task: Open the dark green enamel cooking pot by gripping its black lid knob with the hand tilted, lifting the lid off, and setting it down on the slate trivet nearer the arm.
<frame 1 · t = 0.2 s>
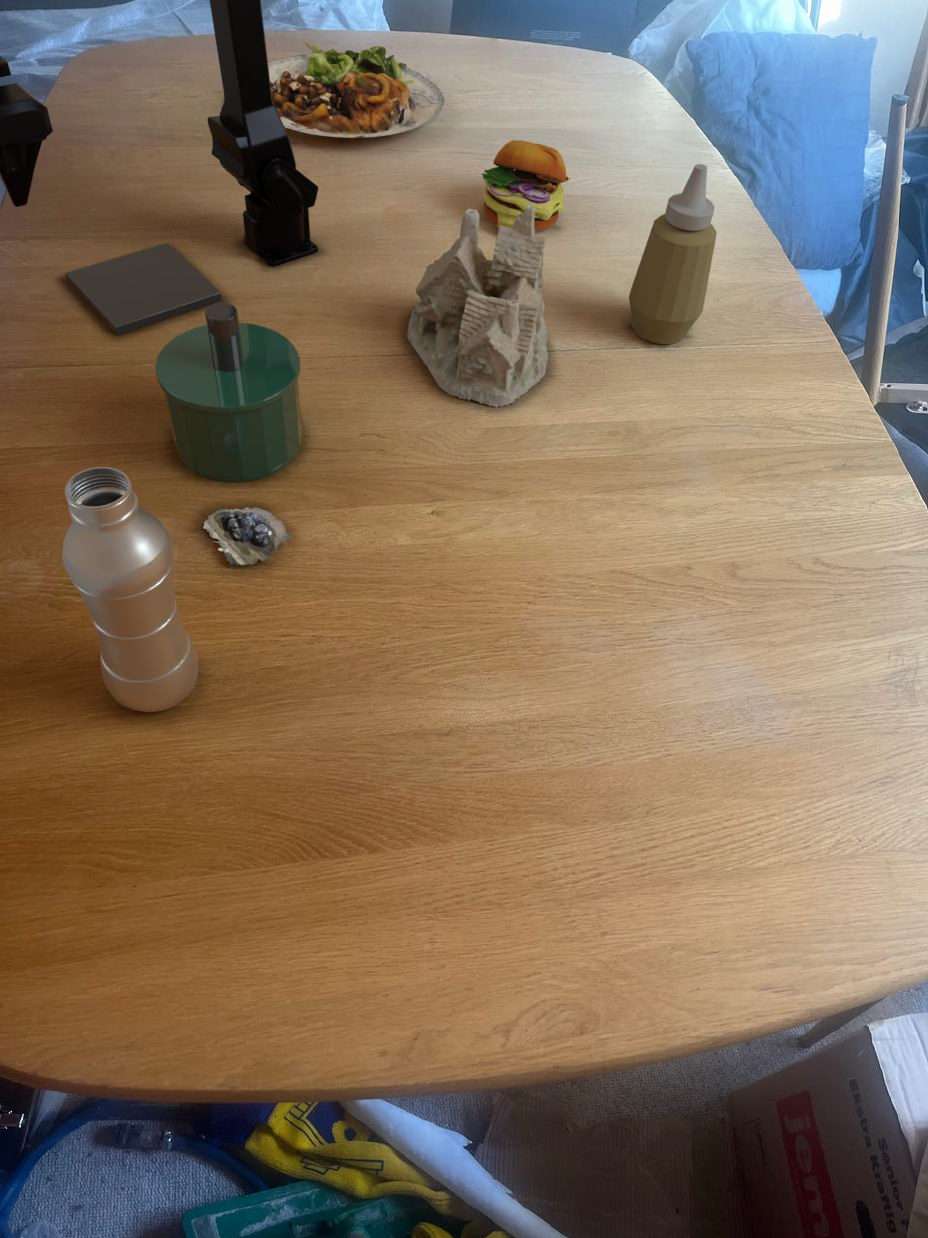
pot lid: (229, 368, 83), point 8 cm above the table, touching pot
plate of food: (344, 110, 136), on the table
ceramic cottage: (471, 353, 101), on the table
pot: (239, 440, 89), on the table
cheeseburger: (520, 217, 120), on the table
trivet: (144, 290, 104), on the table
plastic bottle: (157, 689, 71), on the table
squeeze bottle: (658, 331, 106), on the table
grey lumpy flat piece: (243, 538, 82), on the table
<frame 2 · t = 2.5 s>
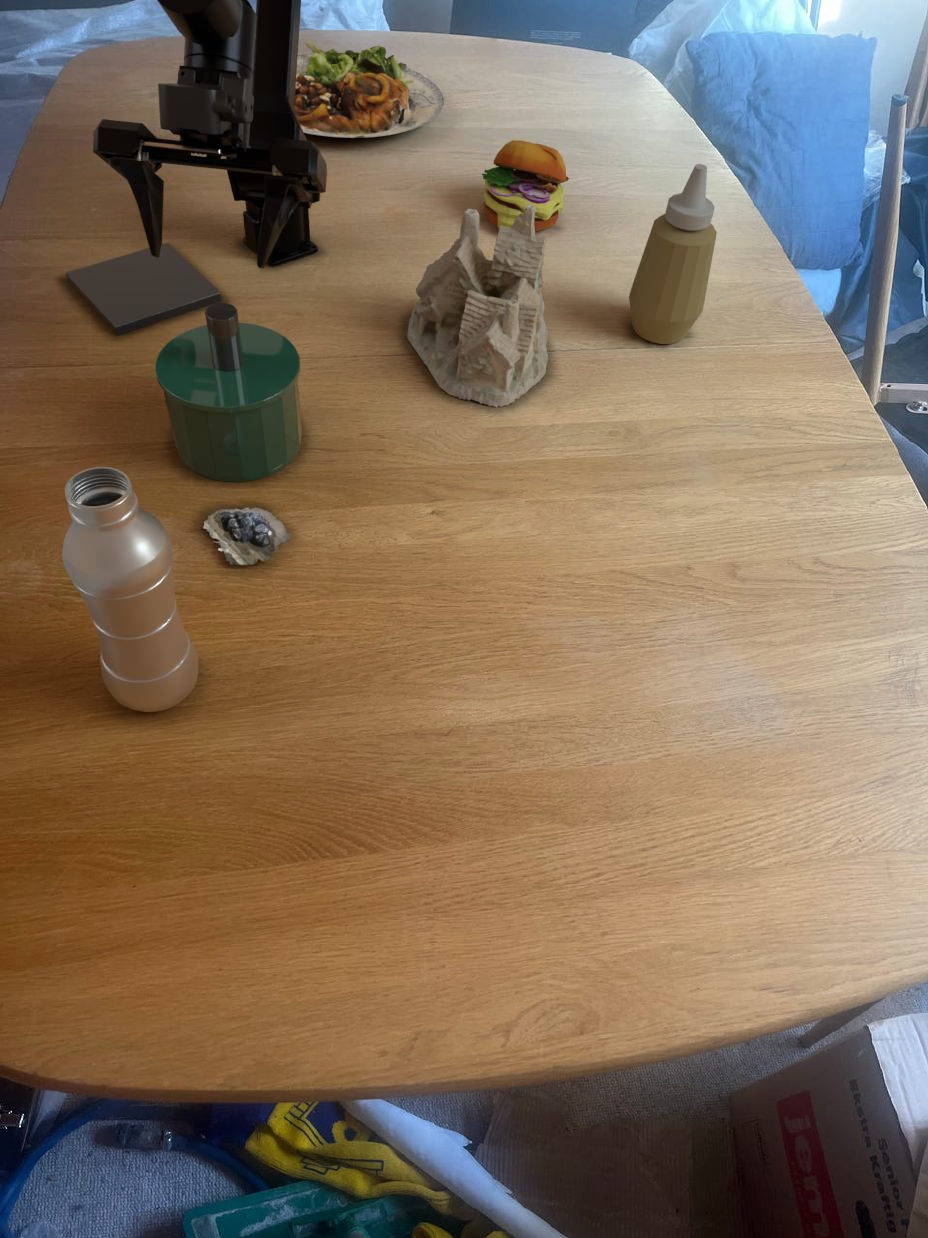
hand: (207, 261, 84), 13 cm above the table, tool tilted 40°, fingers open, 9 cm apart
nothing on the table moved.
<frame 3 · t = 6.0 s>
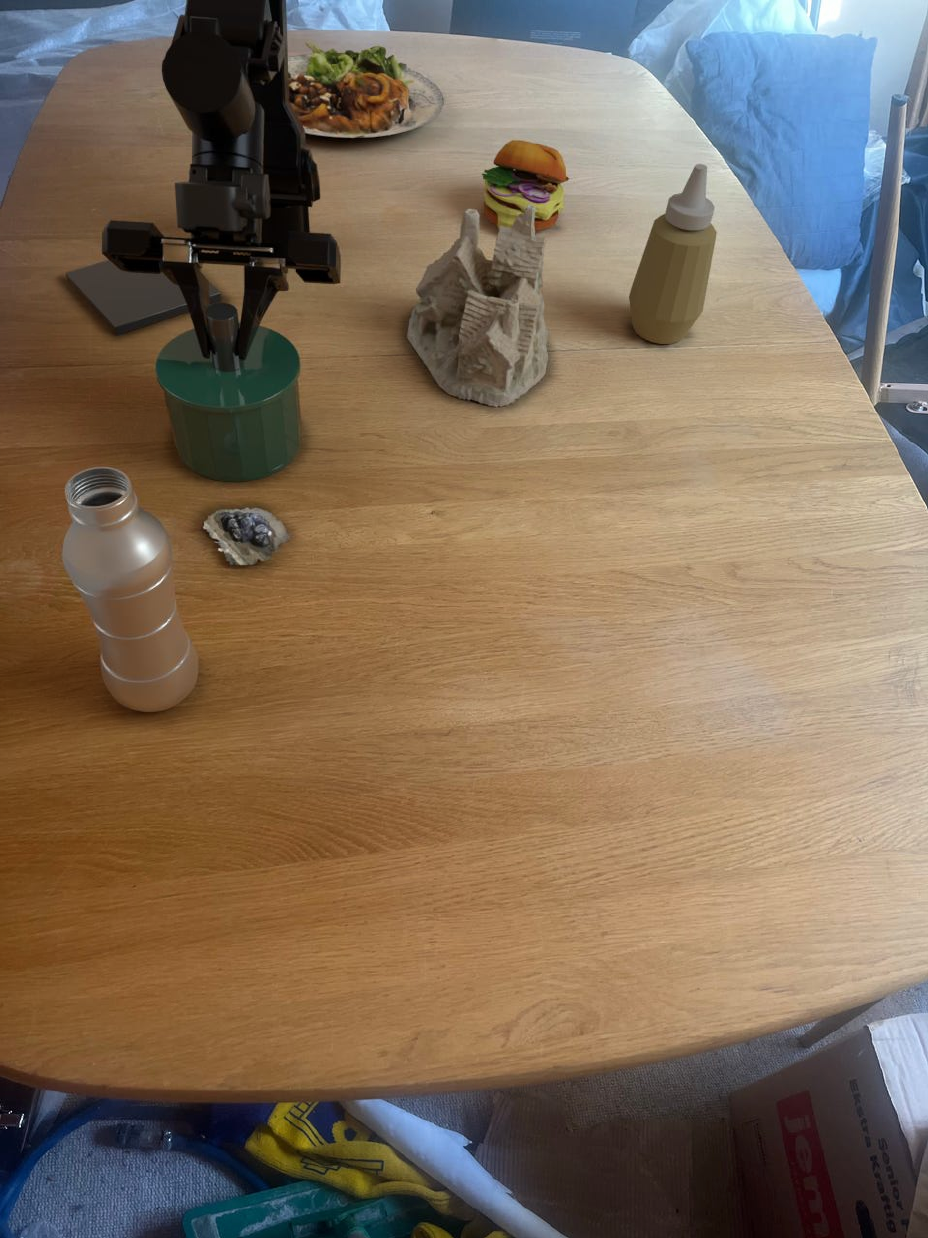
hand: (223, 358, 81), 10 cm above the table, tool tilted 45°, fingers closed on pot lid, 3 cm apart
pot lid: (229, 368, 83), point 8 cm above the table, touching gripper, pot
everything else where it was.
when the fingers open (4 cm above the table, at t = 14.6 s): pot lid stays where it is, resting on trivet.
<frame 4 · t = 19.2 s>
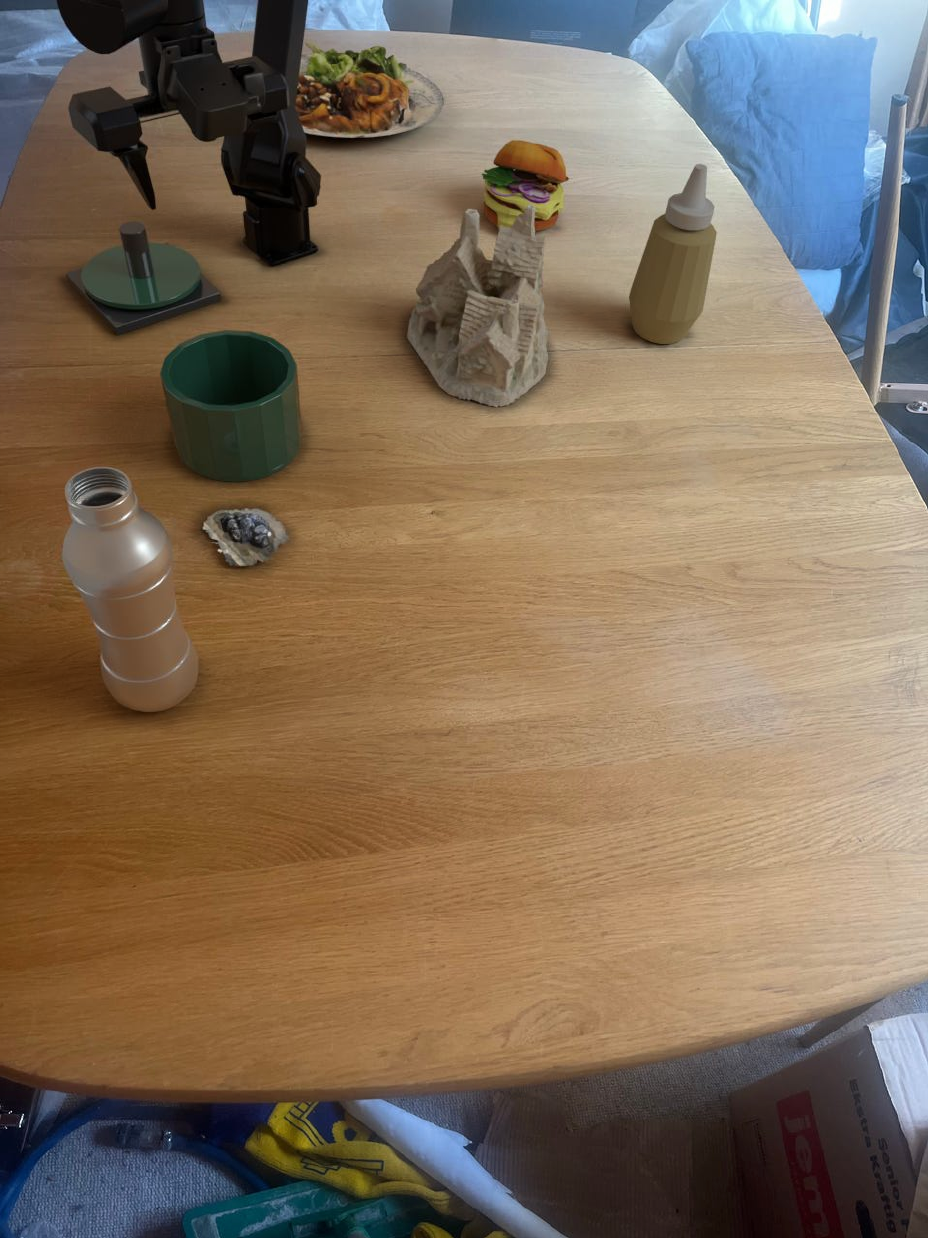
hand: (196, 195, 92), 13 cm above the table, tool pointing down, fingers open, 9 cm apart
pot lid: (142, 277, 102), point 2 cm above the table, touching trivet
everything else where it was.
at the end: pot lid 0.1 cm off-centre on the trivet, point 1.6 cm above the trivet's base; pot lid tilted 0°; pot lid touching trivet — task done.
